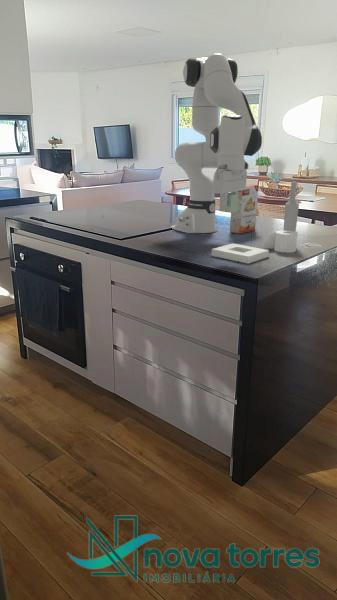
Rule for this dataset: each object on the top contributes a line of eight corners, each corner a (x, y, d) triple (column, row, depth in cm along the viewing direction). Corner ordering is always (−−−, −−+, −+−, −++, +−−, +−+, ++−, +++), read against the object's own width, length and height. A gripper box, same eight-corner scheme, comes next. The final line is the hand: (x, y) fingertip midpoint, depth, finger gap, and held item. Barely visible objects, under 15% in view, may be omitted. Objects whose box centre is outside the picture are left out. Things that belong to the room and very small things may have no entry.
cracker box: (240, 234, 200) (243, 186, 193) (229, 232, 204) (231, 185, 197) (256, 230, 210) (259, 184, 203) (245, 228, 214) (247, 183, 207)
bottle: (289, 247, 176) (295, 182, 168) (278, 245, 180) (284, 181, 172) (297, 246, 179) (304, 181, 171) (287, 243, 183) (293, 180, 175)
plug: (219, 211, 160) (220, 193, 158) (226, 210, 163) (227, 193, 161) (230, 212, 157) (231, 195, 155) (237, 211, 159) (238, 194, 158)
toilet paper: (263, 248, 175) (264, 231, 173) (290, 247, 177) (291, 230, 175) (271, 253, 167) (273, 235, 165) (299, 252, 170) (301, 234, 167)
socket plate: (211, 255, 164) (211, 249, 163) (232, 249, 173) (232, 243, 172) (248, 263, 153) (248, 256, 153) (268, 256, 162) (268, 250, 161)
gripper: (226, 165, 145) (224, 208, 149) (250, 164, 161) (248, 203, 166) (208, 165, 148) (207, 207, 152) (234, 163, 164) (232, 202, 169)
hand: (228, 205), depth 159 cm, fingers closed on plug, 4 cm apart
